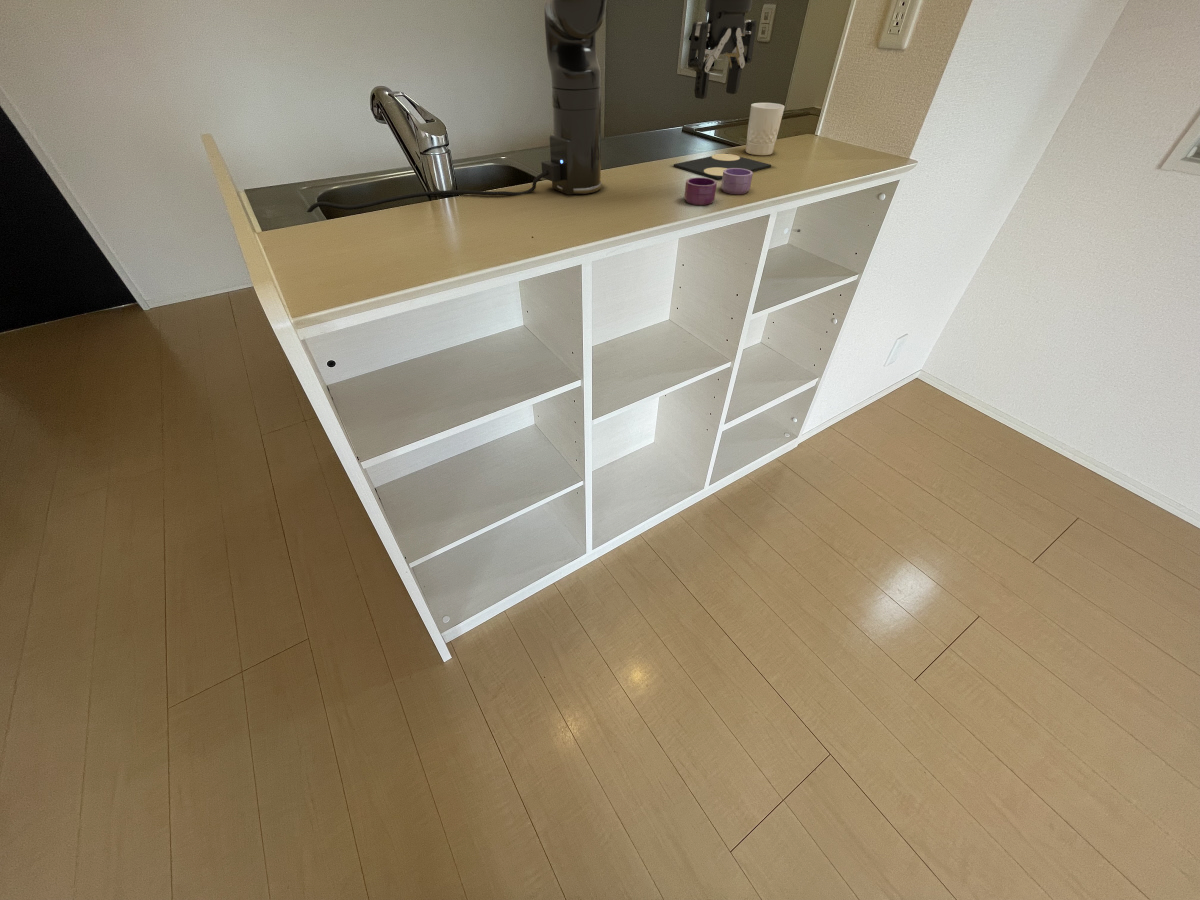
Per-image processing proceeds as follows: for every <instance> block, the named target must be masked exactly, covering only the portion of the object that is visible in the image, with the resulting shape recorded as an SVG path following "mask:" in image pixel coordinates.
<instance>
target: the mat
mask: <svg viewBox="0 0 1200 900" xmlns="http://www.w3.org/2000/svg"><path fill="white" fill-rule="evenodd" d="M673 167H674V168H677V169H681V170H684V171H686V172H691V173H693V174H696V175H701V176H702V177H706V178H710V179H713V180H715V181H719V180H722V177H723V171H724V170H725V169H729V168H741V169H747V170H750V171H752V172H753V173H754V172H756V171H761V170H765V169H769V168H771V167H772V164H770V163H766V162H761V161H758V160H754V159H751V158H746V157H743V156H739V155H736V154H731V153H728V152H725V153H715V154H712V155H710V156H705V157H701V158H696V159H691V160H686V161H683V162H678V163H673Z"/></svg>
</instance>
